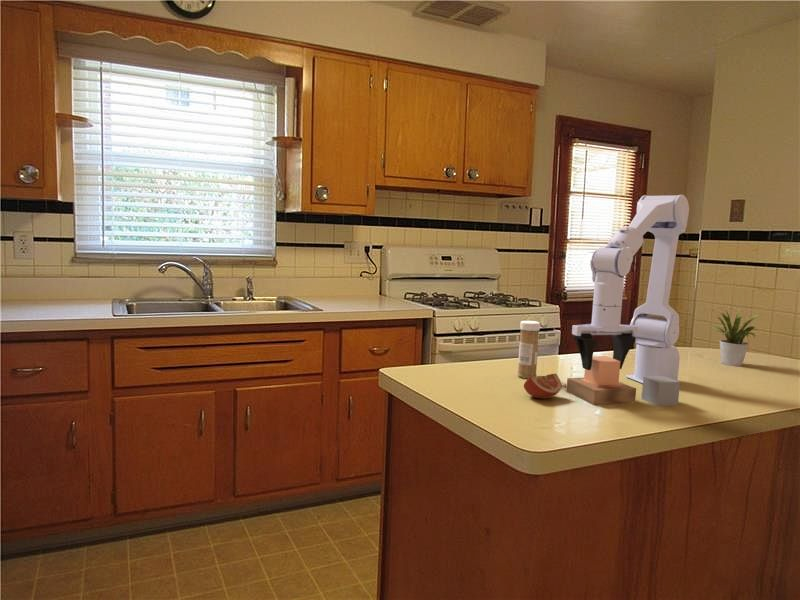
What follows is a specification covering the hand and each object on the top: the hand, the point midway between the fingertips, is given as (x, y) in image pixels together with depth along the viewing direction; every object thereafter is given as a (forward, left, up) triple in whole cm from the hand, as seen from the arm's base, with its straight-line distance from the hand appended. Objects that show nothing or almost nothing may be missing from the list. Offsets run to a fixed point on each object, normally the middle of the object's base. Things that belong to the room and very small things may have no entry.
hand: (602, 368), depth 125 cm
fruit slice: (+13, -1, -6) cm, 15 cm away
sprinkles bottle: (+8, -18, -6) cm, 21 cm away
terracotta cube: (0, 0, -3) cm, 3 cm away
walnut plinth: (0, 0, -7) cm, 7 cm away
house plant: (-58, -26, -6) cm, 64 cm away
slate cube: (-11, +5, -6) cm, 14 cm away
